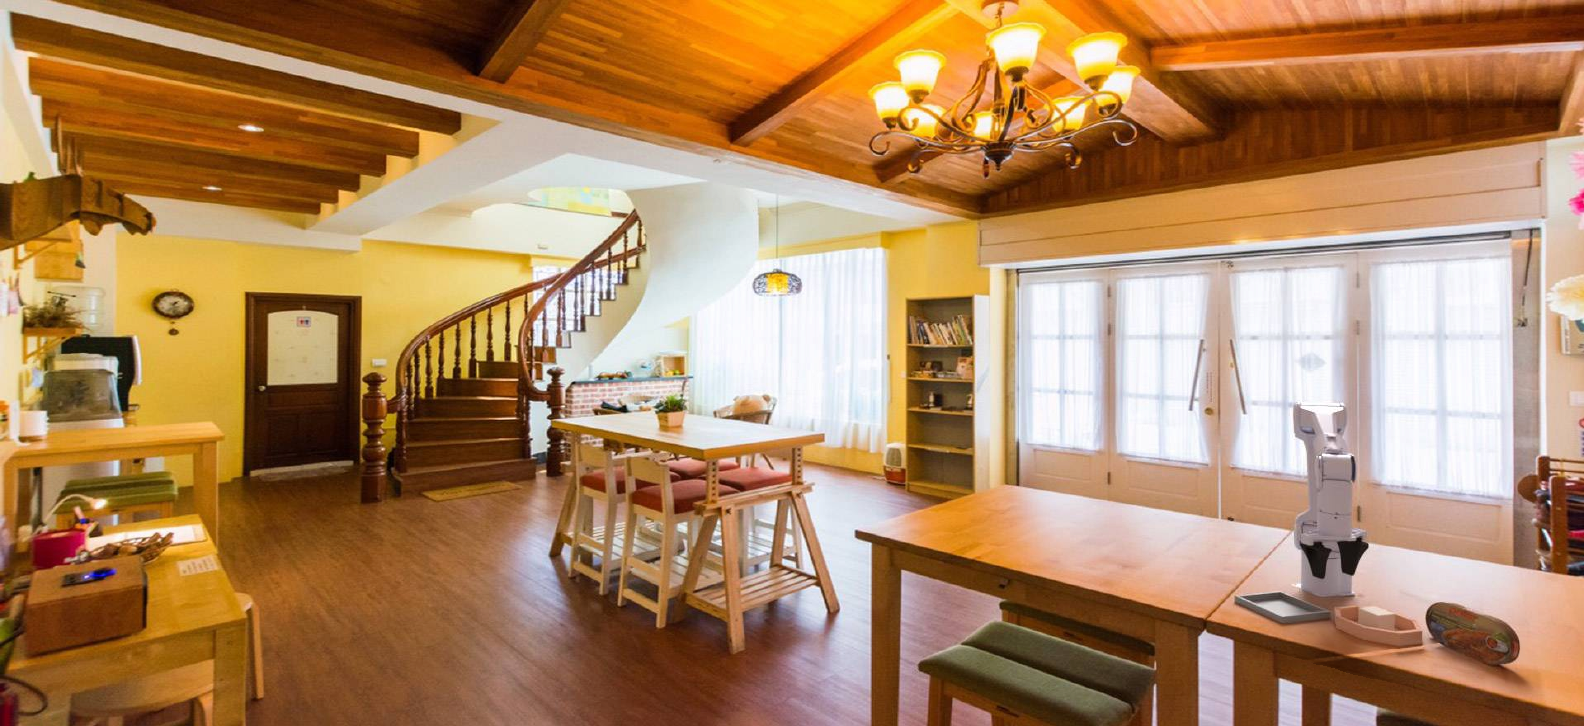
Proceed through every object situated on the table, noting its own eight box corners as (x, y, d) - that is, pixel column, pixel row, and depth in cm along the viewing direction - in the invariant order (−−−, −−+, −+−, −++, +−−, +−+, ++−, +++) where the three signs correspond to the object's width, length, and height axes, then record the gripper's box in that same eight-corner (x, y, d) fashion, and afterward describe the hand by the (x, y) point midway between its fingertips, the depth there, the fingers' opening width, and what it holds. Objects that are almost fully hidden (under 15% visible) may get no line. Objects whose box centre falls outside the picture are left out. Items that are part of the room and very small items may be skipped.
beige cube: (1374, 625, 143) (1374, 606, 142) (1394, 633, 139) (1395, 613, 138) (1358, 627, 142) (1358, 607, 142) (1377, 635, 138) (1378, 615, 138)
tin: (1423, 637, 138) (1424, 595, 138) (1438, 636, 139) (1439, 594, 138) (1507, 674, 123) (1508, 627, 123) (1523, 673, 124) (1524, 626, 123)
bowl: (1370, 617, 148) (1370, 603, 148) (1437, 644, 135) (1438, 628, 135) (1318, 623, 145) (1319, 609, 145) (1382, 651, 133) (1383, 635, 132)
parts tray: (1280, 599, 158) (1280, 590, 158) (1330, 620, 147) (1330, 611, 146) (1234, 604, 156) (1234, 595, 156) (1282, 626, 144) (1282, 616, 144)
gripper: (1324, 519, 141) (1322, 585, 141) (1382, 513, 144) (1380, 579, 144) (1292, 510, 147) (1291, 573, 148) (1348, 505, 150) (1347, 567, 151)
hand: (1333, 575), depth 147 cm, fingers open, 7 cm apart
